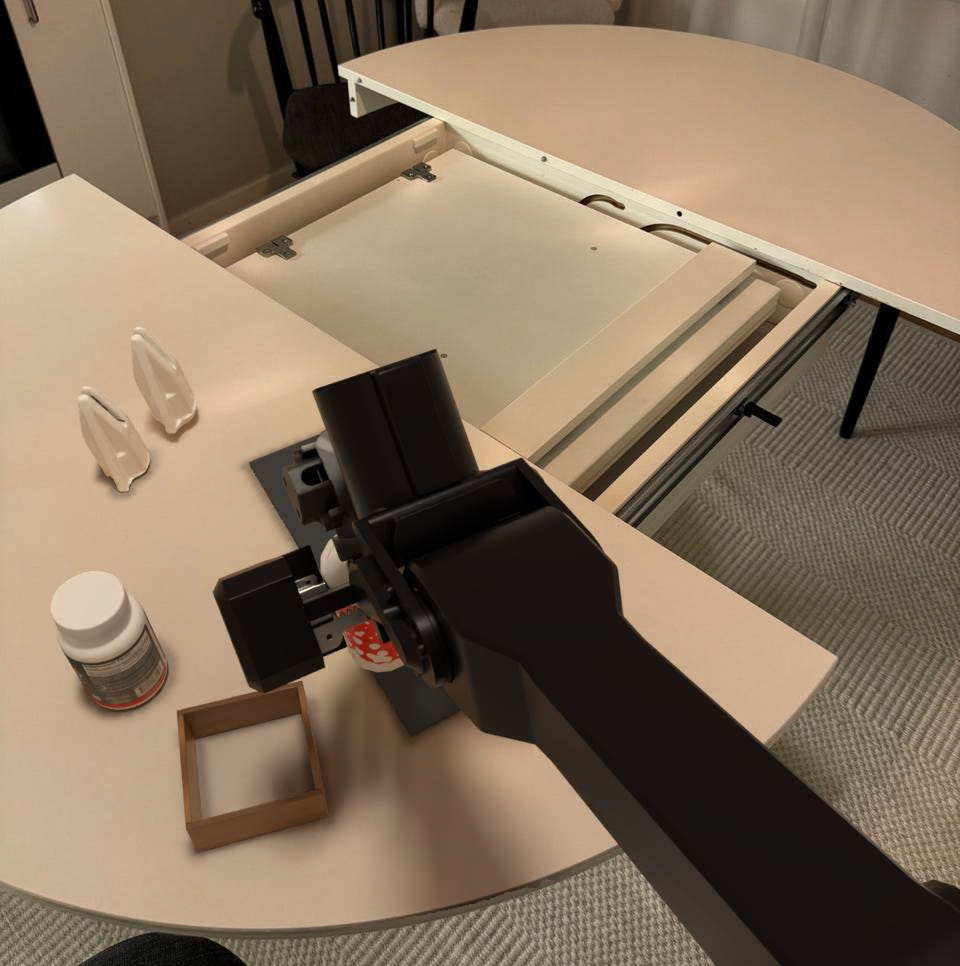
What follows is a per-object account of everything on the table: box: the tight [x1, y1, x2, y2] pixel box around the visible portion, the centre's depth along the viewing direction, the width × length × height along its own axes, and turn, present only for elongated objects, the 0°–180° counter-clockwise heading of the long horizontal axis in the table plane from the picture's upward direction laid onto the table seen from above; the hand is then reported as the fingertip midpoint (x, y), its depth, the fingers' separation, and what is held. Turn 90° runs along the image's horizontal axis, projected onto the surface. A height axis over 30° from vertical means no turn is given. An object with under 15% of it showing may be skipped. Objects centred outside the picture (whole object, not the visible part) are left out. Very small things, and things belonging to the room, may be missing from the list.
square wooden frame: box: [176, 680, 330, 852], centre depth 63 cm, size 8×8×4 cm
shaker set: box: [77, 326, 198, 493], centre depth 81 cm, size 12×4×11 cm, turn 152°
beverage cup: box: [321, 535, 404, 672], centre depth 59 cm, size 6×6×14 cm
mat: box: [248, 433, 462, 738], centre depth 76 cm, size 30×9×1 cm, turn 31°
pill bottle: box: [49, 570, 168, 710], centre depth 66 cm, size 6×6×10 cm
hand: (365, 562), depth 60 cm, fingers closed on beverage cup, 6 cm apart
